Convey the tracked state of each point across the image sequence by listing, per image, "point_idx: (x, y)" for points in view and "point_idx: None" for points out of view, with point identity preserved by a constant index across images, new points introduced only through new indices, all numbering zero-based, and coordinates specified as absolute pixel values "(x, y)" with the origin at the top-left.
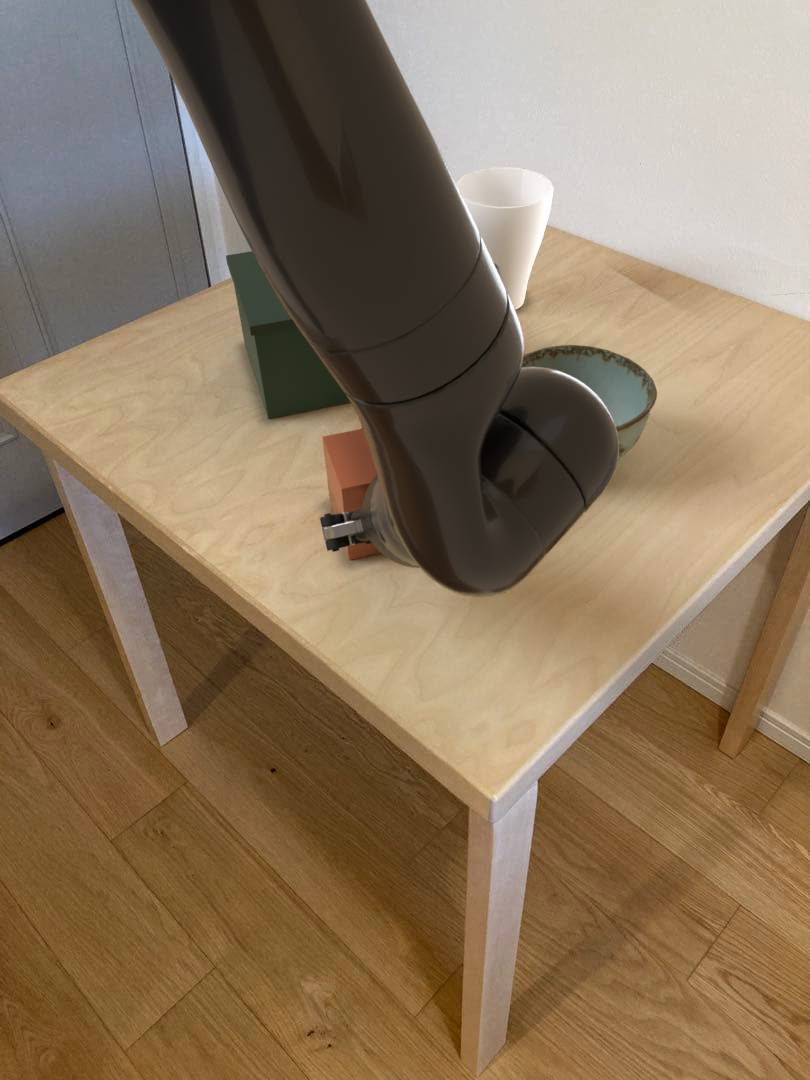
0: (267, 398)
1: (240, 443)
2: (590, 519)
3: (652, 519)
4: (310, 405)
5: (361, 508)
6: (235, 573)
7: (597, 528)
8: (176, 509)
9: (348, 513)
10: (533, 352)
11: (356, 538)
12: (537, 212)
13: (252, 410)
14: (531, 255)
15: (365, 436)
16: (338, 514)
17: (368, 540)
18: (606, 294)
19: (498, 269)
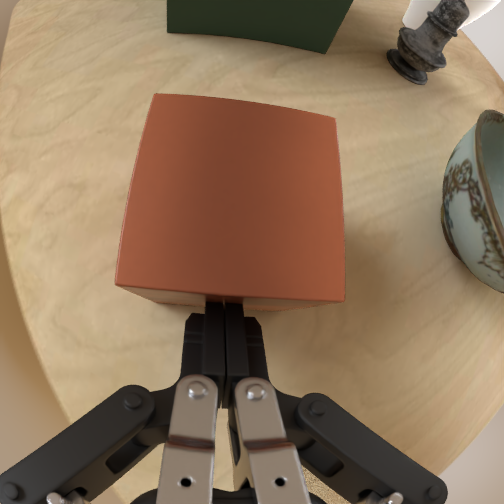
0: (169, 11)
1: (121, 53)
2: (456, 332)
3: (489, 346)
4: (218, 30)
5: (130, 407)
6: (17, 258)
7: (456, 347)
8: (15, 130)
9: (72, 477)
10: (497, 112)
11: (99, 487)
12: (491, 2)
13: (158, 21)
14: (467, 22)
15: (243, 124)
16: (37, 502)
17: (136, 462)
18: (484, 78)
19: (469, 12)
